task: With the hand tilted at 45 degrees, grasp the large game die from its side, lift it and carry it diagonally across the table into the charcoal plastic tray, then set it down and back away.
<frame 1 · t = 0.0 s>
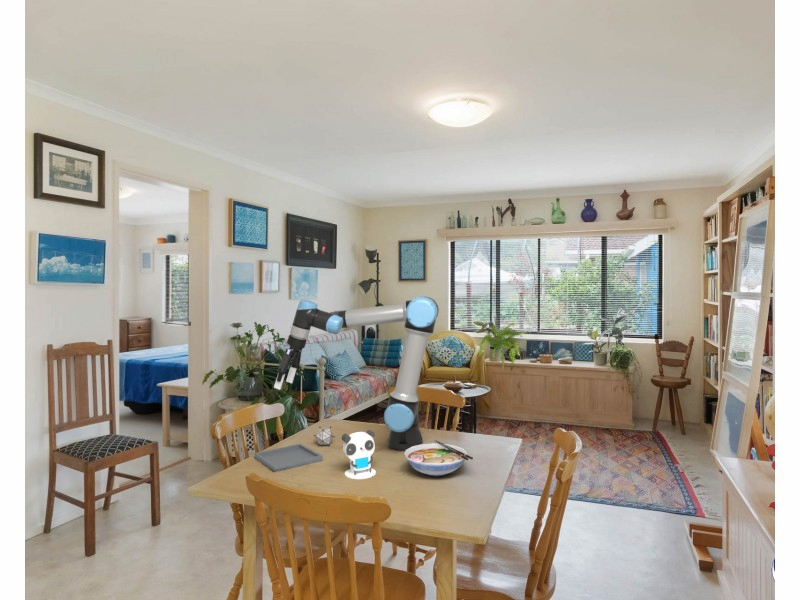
hand: (283, 385, 209), 28 cm above the table, tool tilted 20°, fingers open, 13 cm apart
panda figurine: (359, 474, 184), on the table
tray: (288, 459, 200), on the table
game die: (324, 445, 218), on the table
ramen bowl: (435, 473, 183), on the table
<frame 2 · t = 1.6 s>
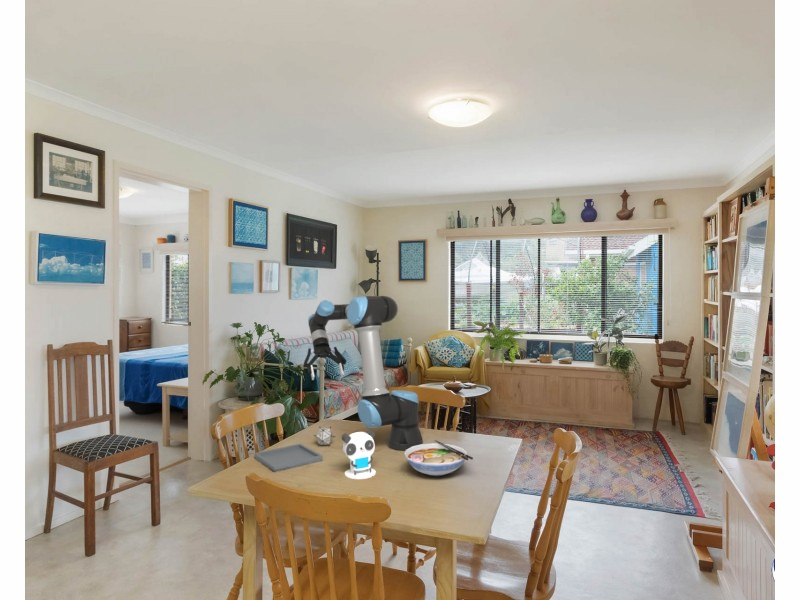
hand: (328, 377, 231), 27 cm above the table, tool tilted 45°, fingers open, 13 cm apart
nothing on the table moved.
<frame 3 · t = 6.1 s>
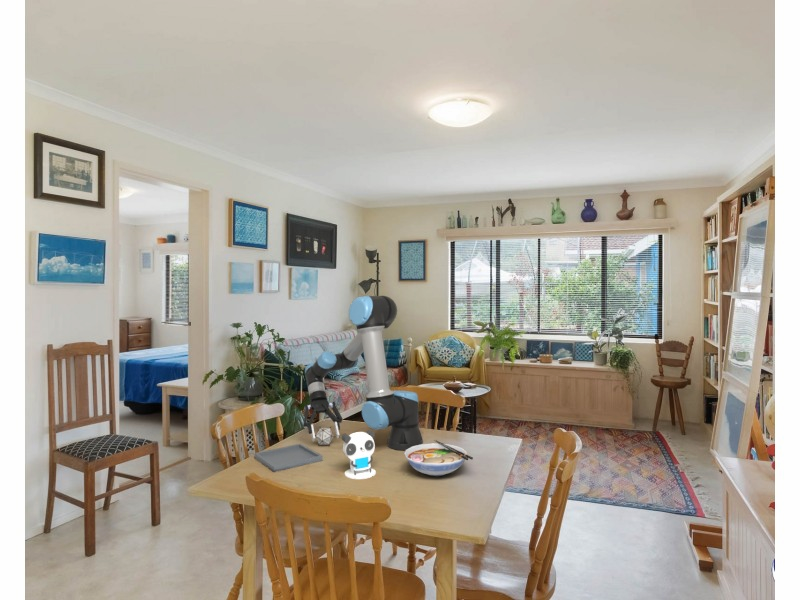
hand: (326, 438, 215), 4 cm above the table, tool tilted 45°, fingers open, 10 cm apart
game die: (324, 445, 218), on the table, touching gripper
everything else where it was.
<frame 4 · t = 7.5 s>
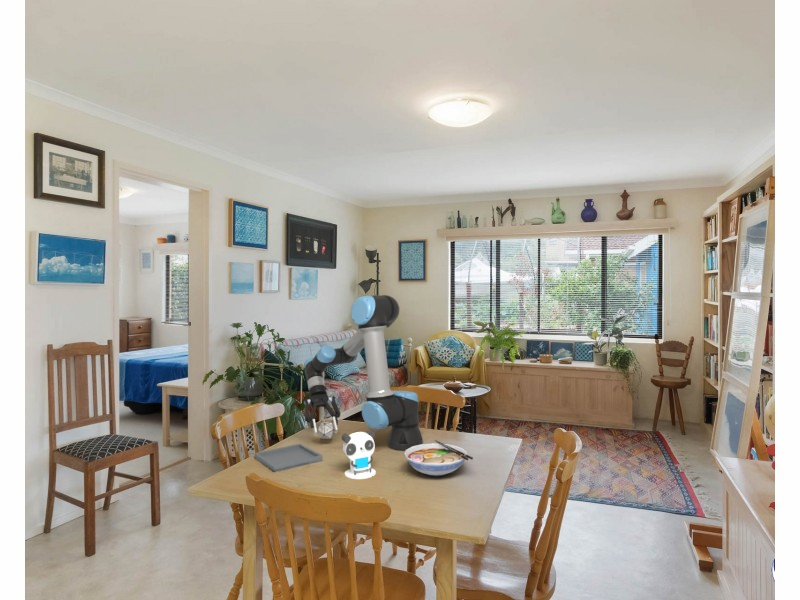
hand: (326, 432, 214), 6 cm above the table, tool tilted 45°, fingers closed on game die, 8 cm apart
game die: (326, 439, 218), point 2 cm above the table, touching gripper
everything else where it was.
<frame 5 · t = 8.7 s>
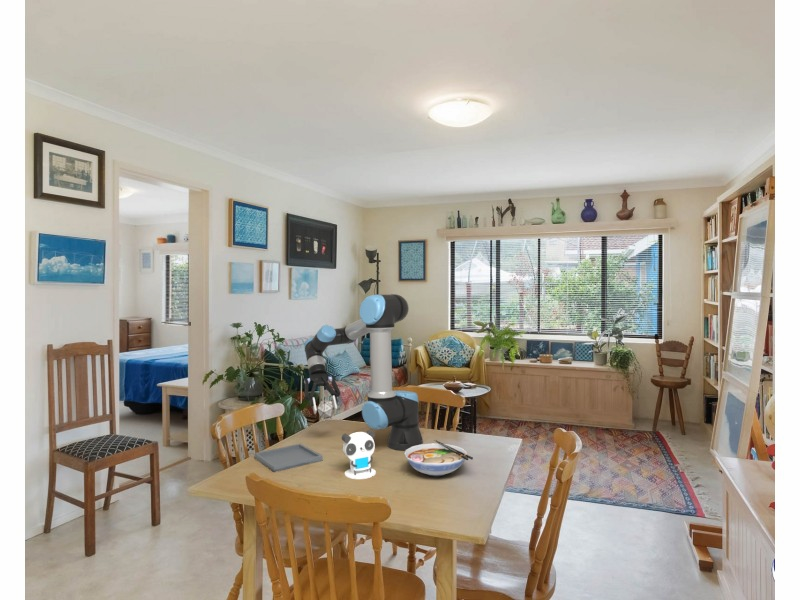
hand: (325, 411, 214), 16 cm above the table, tool tilted 45°, fingers closed on game die, 8 cm apart
game die: (326, 418, 218), point 12 cm above the table, touching gripper
everything else where it was.
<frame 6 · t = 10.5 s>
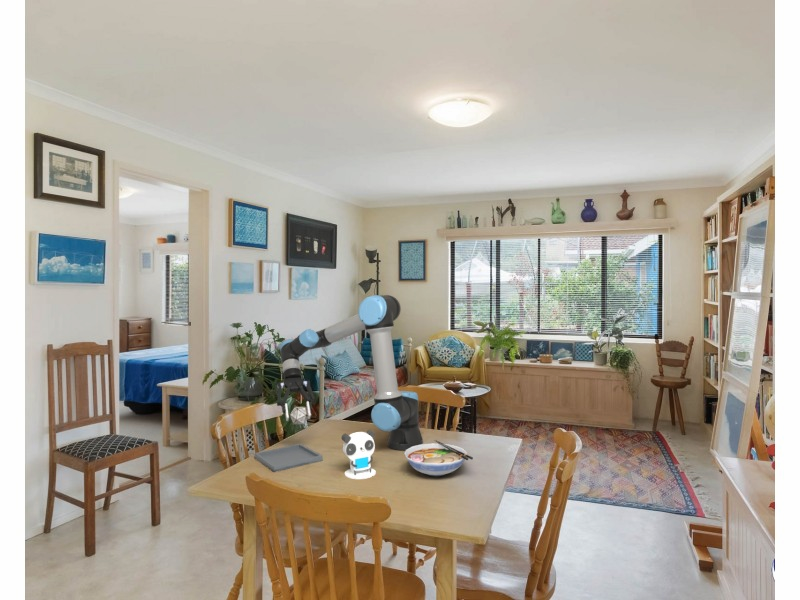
hand: (298, 418, 204), 16 cm above the table, tool tilted 45°, fingers closed on game die, 8 cm apart
game die: (299, 425, 207), point 12 cm above the table, touching gripper
everything else where it was.
when the fingers open (7 cm above the table, at t = 13.6 s): game die drops 2 cm, resting on tray.
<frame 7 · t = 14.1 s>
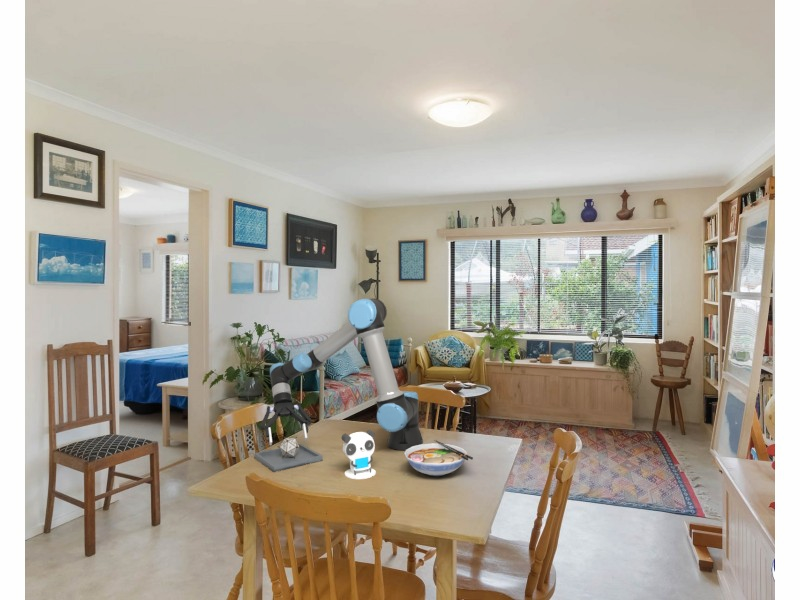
hand: (288, 441, 198), 8 cm above the table, tool tilted 45°, fingers open, 13 cm apart
game die: (289, 457, 200), point 1 cm above the table, touching tray
everything else where it was.
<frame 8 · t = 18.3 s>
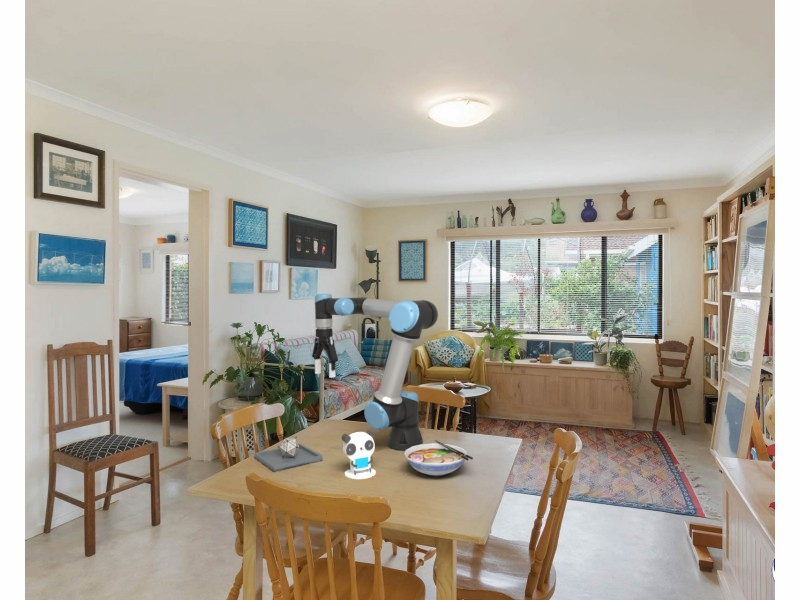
hand: (325, 375, 226), 29 cm above the table, tool pointing down, fingers open, 13 cm apart
nothing on the table moved.
at the end: game die inside the target area on the tray (0.7 cm from its centre), point 0.6 cm above the tray's base; the gripper is holding nothing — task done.
